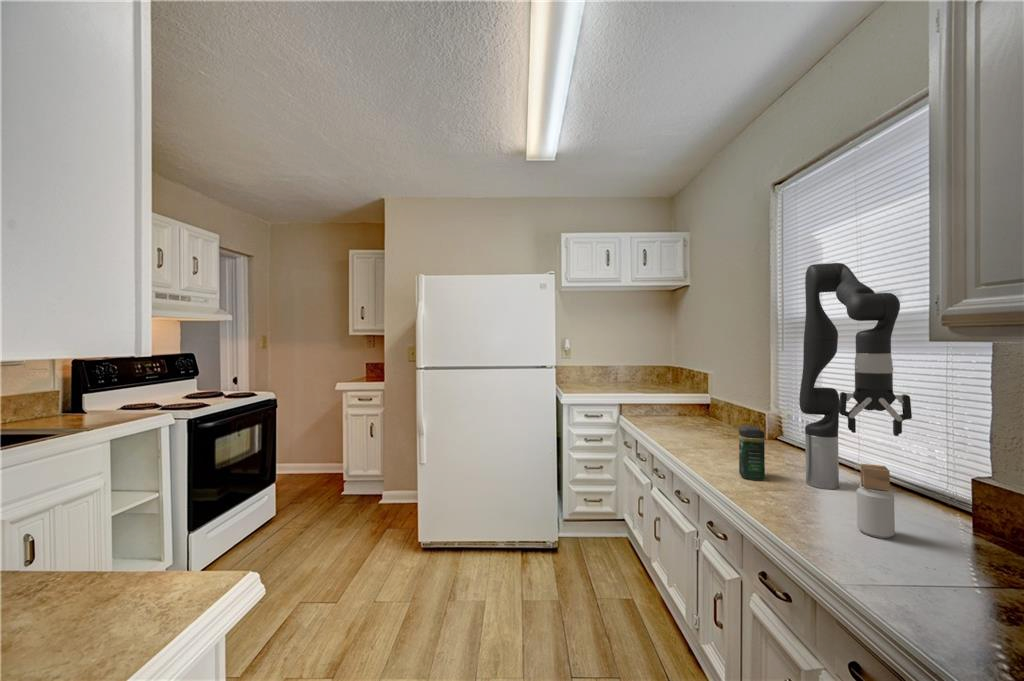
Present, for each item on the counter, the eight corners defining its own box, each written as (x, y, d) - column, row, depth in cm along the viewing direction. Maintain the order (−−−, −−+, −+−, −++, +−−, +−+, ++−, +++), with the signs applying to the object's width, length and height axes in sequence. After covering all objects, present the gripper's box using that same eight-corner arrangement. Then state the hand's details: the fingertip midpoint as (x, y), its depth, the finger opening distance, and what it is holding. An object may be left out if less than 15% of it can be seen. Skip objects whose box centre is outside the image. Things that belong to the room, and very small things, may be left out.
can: (902, 540, 108) (901, 492, 108) (867, 538, 109) (866, 490, 109) (883, 528, 115) (882, 482, 115) (850, 525, 116) (850, 481, 116)
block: (860, 482, 115) (860, 463, 115) (885, 485, 113) (885, 466, 113) (864, 487, 111) (864, 468, 111) (889, 491, 109) (889, 471, 109)
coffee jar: (767, 481, 153) (766, 429, 153) (742, 480, 155) (741, 428, 155) (760, 473, 162) (760, 423, 162) (737, 472, 164) (736, 423, 164)
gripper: (905, 370, 112) (906, 433, 112) (837, 369, 119) (837, 428, 119) (914, 372, 105) (915, 439, 105) (840, 371, 112) (841, 434, 112)
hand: (874, 433), depth 112 cm, fingers open, 8 cm apart
